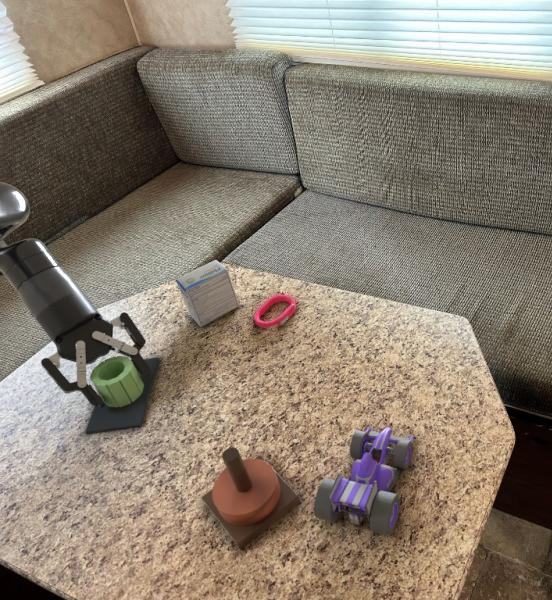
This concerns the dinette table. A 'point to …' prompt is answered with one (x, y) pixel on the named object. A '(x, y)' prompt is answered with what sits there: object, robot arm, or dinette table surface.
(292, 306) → the fitness band
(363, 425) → the dinette table surface
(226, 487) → the stand
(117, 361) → the green ring
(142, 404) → the mat
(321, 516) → the toy race car
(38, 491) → the dinette table surface
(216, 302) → the medicine box
